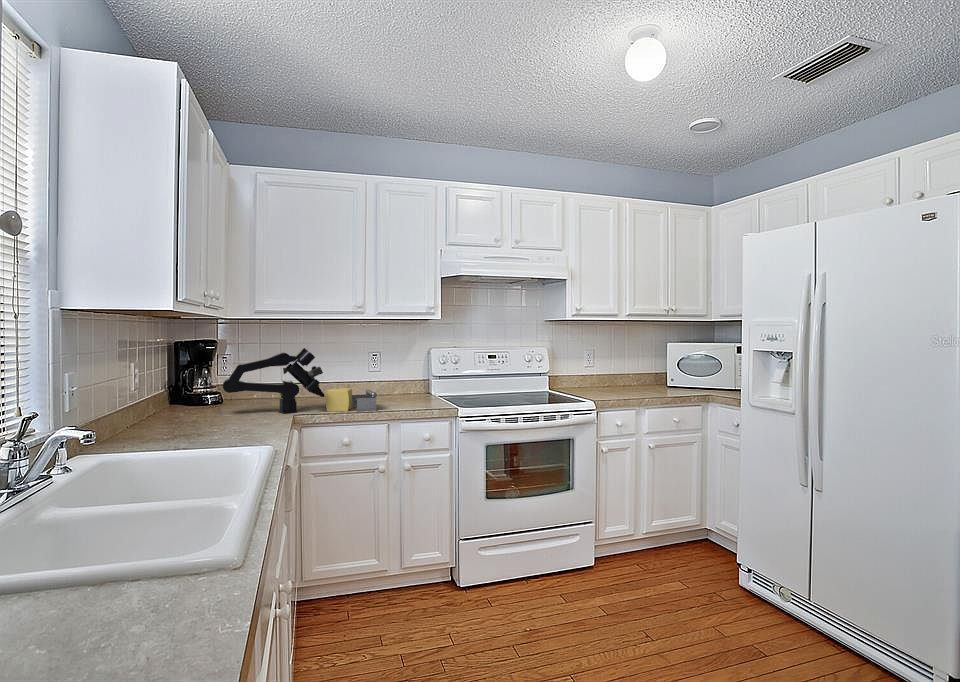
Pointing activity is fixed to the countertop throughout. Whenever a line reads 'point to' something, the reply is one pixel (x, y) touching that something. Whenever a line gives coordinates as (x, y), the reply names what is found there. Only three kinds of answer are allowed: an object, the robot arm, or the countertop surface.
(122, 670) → the countertop surface
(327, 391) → the cheese
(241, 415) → the countertop surface
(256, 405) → the countertop surface
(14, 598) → the countertop surface
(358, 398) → the leaf bracket
